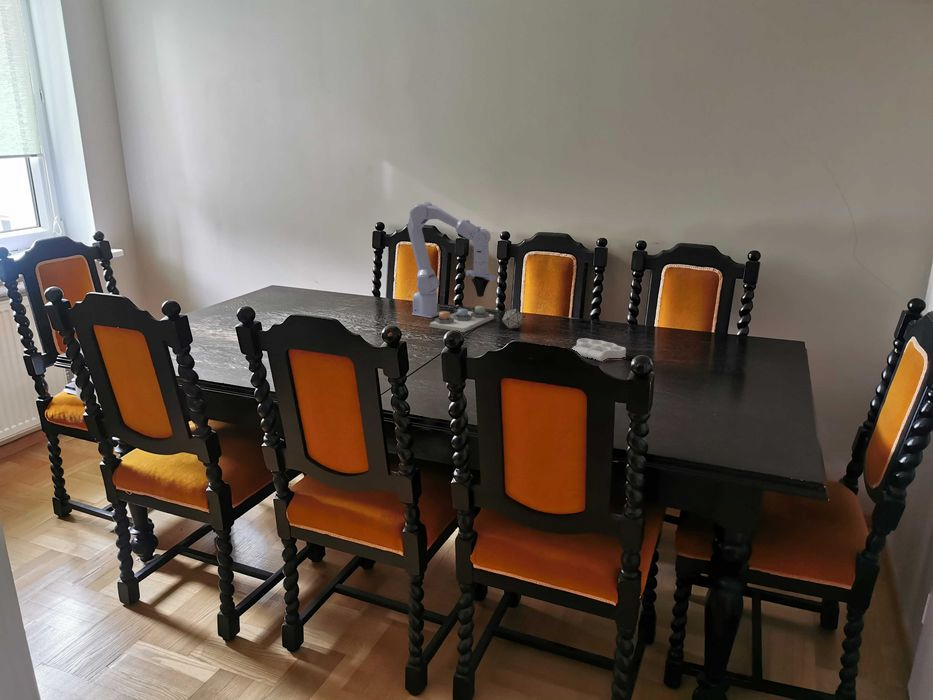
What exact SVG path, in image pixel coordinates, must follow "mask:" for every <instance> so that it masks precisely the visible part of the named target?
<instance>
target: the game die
mask: <svg viewBox="0 0 933 700" xmlns="http://www.w3.org/2000/svg"><path fill="white" fill-rule="evenodd" d="M504 310H505V312H504V314H503V317H502V319H501V320H499V322H502V323H503V324H504V325H505V326H506V327H507V328H508V331H510V330H511V329H517V328H518V329H519V330H521V323H522V322H523V319H524V318H526V315H524V316H523V314H521V312H520V311H519V310H518V307H517V306H516V307H515V308H512V309H507V308H504Z"/></svg>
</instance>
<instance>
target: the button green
mask: <svg viewBox="0 0 933 700" xmlns="http://www.w3.org/2000/svg"><path fill="white" fill-rule="evenodd" d="M474 312H475V313H477V314H484V313H485V312H486V306H484V305H477V306H475V307H474Z"/></svg>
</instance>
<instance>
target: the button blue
mask: <svg viewBox="0 0 933 700" xmlns="http://www.w3.org/2000/svg"><path fill="white" fill-rule="evenodd" d="M468 311H469V309H467V308H457V311H456V312H457V315H458V316H461V317H465V316H468Z"/></svg>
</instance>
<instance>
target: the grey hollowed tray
mask: <svg viewBox="0 0 933 700" xmlns="http://www.w3.org/2000/svg"><path fill="white" fill-rule="evenodd" d="M571 349H573V350H575V351H577V352H578V353H579V354H580V355H581V356H580V355H579V356H580V357H583V358H587V357H588V359H591V358H593V359H592V360H595V359H596V361H599V362H604V361H603V360H605V359H607V358H622V357H625V358H626V354H627V349H626V347H625V346H620V345H617V343H614V342H608V341H605V340H601V339H600V340H599V339H591V338H586V337H585V338H578V339H577V340H576V344H575V345H573V346H572V348H571ZM607 360H608V359H607ZM605 361H606V360H605Z"/></svg>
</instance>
